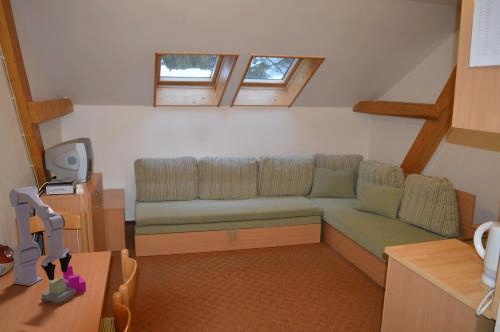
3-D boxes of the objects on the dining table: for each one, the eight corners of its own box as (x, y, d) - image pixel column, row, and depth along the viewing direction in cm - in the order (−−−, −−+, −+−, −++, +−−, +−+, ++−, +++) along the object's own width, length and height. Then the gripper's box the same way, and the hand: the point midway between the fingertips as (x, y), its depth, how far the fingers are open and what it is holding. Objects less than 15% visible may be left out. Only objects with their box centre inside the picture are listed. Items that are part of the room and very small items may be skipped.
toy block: (86, 291, 174) (85, 275, 173) (70, 295, 170) (69, 278, 169) (77, 278, 186) (77, 263, 185) (63, 282, 182) (62, 266, 181)
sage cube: (49, 292, 165) (48, 282, 164) (57, 288, 169) (57, 278, 169) (58, 294, 164) (57, 284, 163) (66, 289, 168) (65, 279, 167)
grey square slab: (41, 303, 164) (41, 299, 164) (58, 293, 172) (58, 289, 172) (59, 307, 161) (59, 302, 161) (75, 297, 170) (75, 292, 170)
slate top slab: (42, 298, 164) (41, 294, 164) (59, 289, 172) (59, 284, 172) (58, 302, 161) (58, 298, 161) (75, 293, 169) (75, 288, 169)
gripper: (51, 251, 156) (53, 284, 158) (76, 239, 170) (77, 269, 172) (36, 249, 158) (38, 282, 160) (62, 238, 171) (63, 267, 174)
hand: (57, 275), depth 166 cm, fingers open, 7 cm apart
